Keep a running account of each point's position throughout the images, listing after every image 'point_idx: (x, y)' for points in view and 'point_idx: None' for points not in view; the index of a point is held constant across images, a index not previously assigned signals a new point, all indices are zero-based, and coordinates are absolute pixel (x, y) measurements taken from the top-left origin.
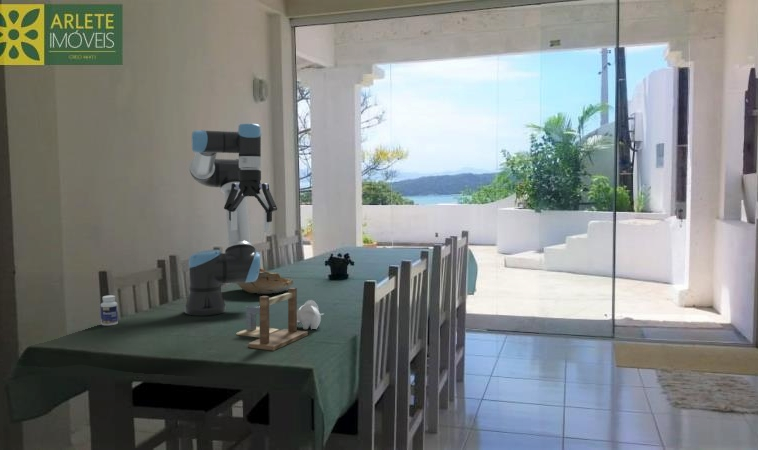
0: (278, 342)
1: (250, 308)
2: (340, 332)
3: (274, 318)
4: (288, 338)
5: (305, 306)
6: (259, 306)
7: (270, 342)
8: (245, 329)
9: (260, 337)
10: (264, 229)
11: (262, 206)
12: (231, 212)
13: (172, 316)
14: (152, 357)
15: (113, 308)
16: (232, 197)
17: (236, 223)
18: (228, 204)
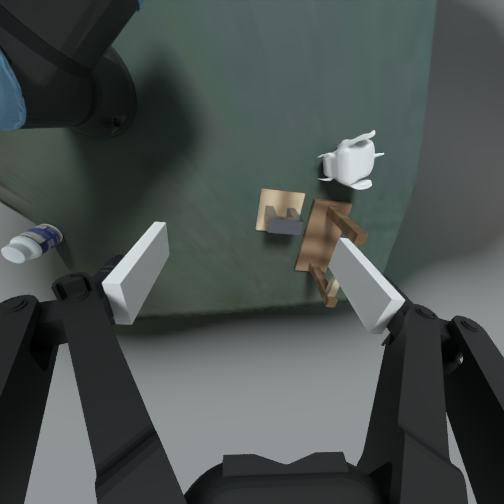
0: (326, 258)
1: (275, 232)
2: (396, 172)
3: (263, 103)
4: (333, 241)
5: (360, 188)
6: (286, 223)
7: (317, 261)
8: (258, 210)
9: (310, 272)
10: (334, 272)
11: (382, 369)
12: (125, 320)
13: (75, 155)
14: (225, 312)
15: (44, 248)
16: (19, 452)
17: (155, 245)
18: (51, 373)
